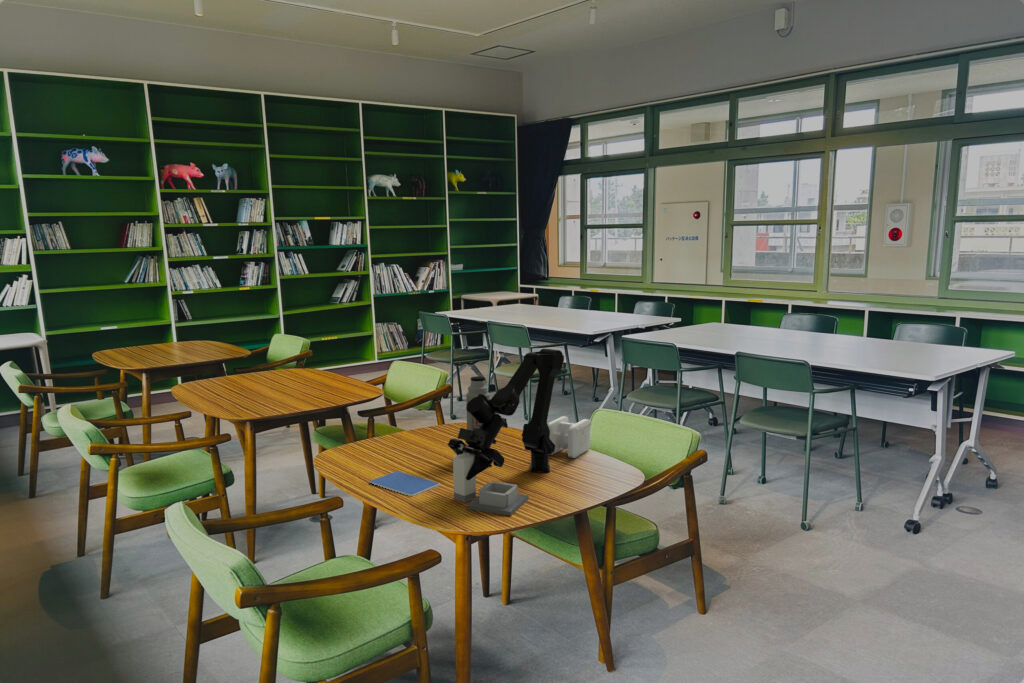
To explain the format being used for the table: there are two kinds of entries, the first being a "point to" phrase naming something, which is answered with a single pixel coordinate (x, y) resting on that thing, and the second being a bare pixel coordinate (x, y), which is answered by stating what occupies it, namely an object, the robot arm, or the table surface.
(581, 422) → the cable organizer
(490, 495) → the socket
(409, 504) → the table surface
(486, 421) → the robot arm
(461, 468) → the plug
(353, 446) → the table surface
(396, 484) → the blue spiral notebook
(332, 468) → the table surface
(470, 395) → the thermos bottle
